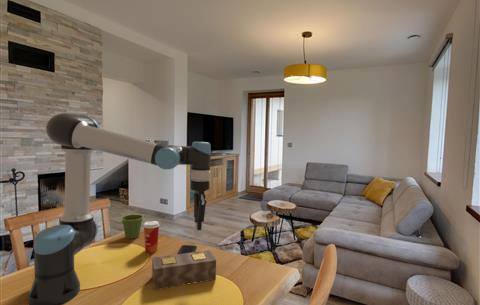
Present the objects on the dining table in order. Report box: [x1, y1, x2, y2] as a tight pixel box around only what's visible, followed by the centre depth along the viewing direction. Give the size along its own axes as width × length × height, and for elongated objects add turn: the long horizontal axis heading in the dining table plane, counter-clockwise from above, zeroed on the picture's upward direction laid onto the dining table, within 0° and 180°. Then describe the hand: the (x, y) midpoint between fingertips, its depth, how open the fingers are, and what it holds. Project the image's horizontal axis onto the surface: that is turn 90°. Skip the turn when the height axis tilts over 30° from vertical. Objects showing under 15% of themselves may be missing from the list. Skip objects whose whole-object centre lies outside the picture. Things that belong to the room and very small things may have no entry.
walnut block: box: [151, 249, 217, 291], centre depth 109 cm, size 24×10×8 cm, turn 111°
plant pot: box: [120, 213, 145, 240], centre depth 151 cm, size 12×12×11 cm
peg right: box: [192, 253, 206, 261], centre depth 112 cm, size 5×5×7 cm
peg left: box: [162, 257, 176, 265], centre depth 107 cm, size 5×5×7 cm
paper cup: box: [142, 220, 160, 254], centre depth 134 cm, size 8×8×14 cm
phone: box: [177, 244, 198, 254], centre depth 133 cm, size 8×1×15 cm
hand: (198, 236), depth 111 cm, fingers closed
